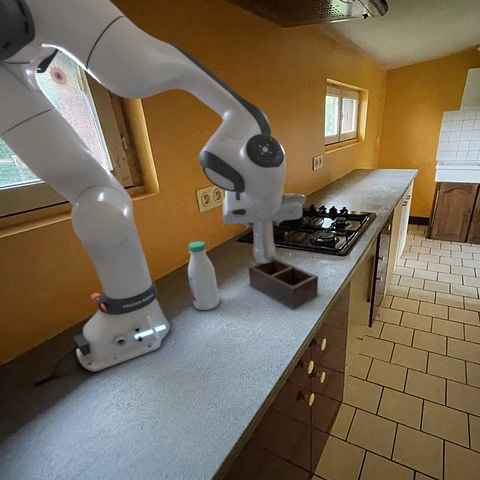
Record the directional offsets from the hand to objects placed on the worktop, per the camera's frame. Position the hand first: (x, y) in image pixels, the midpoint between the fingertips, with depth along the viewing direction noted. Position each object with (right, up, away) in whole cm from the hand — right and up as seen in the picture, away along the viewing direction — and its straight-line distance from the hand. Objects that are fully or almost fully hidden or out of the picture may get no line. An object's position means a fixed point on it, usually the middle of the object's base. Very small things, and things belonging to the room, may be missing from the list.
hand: (262, 224), depth 83 cm
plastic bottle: (+1, -10, +5) cm, 11 cm away
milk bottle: (-18, -23, +10) cm, 31 cm away
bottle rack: (+6, -19, +16) cm, 25 cm away
